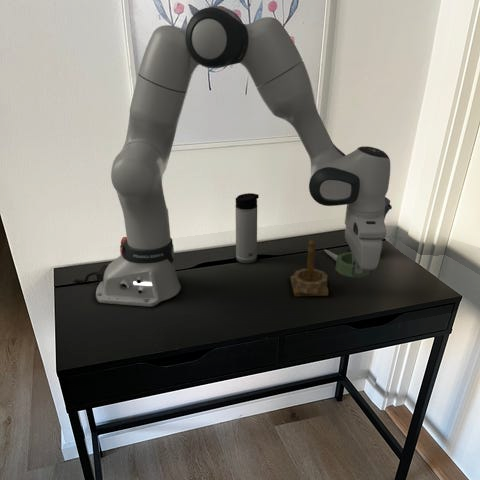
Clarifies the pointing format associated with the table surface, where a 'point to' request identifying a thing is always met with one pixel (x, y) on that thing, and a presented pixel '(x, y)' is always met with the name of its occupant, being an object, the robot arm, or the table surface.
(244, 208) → the travel mug
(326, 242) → the table surface
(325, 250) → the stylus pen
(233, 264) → the table surface
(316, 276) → the birch ring
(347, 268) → the sage ring
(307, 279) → the peg stand
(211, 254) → the table surface
